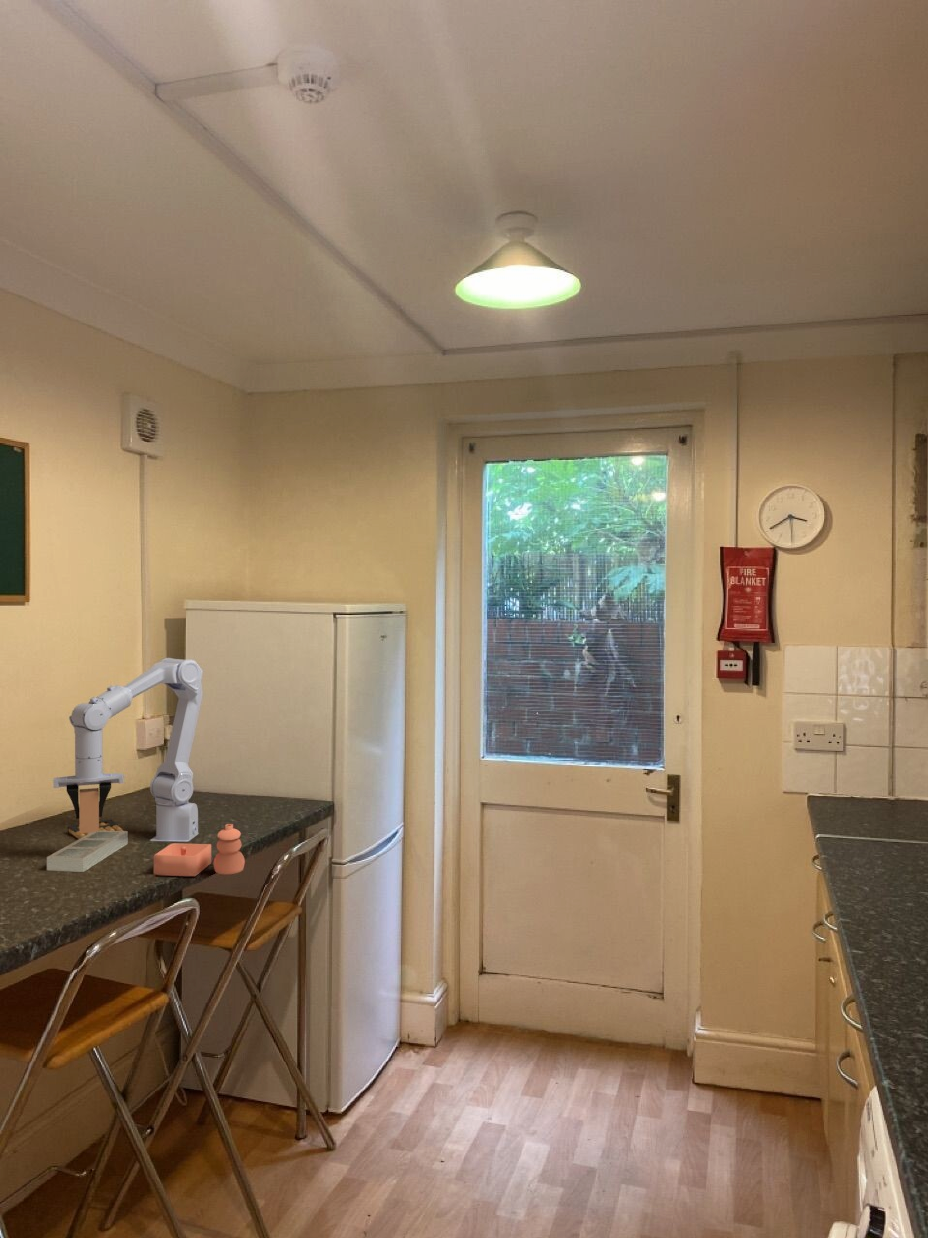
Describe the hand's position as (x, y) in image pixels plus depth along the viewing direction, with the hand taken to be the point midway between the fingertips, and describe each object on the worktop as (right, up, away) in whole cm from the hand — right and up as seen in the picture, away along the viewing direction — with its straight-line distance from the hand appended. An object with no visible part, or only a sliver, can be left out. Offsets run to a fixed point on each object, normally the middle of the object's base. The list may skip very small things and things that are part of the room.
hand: (89, 817), depth 203 cm
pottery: (+28, -10, -8) cm, 31 cm away
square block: (0, -3, 0) cm, 3 cm away
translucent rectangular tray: (0, -9, 0) cm, 9 cm away
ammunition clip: (-9, -7, +23) cm, 25 cm away
